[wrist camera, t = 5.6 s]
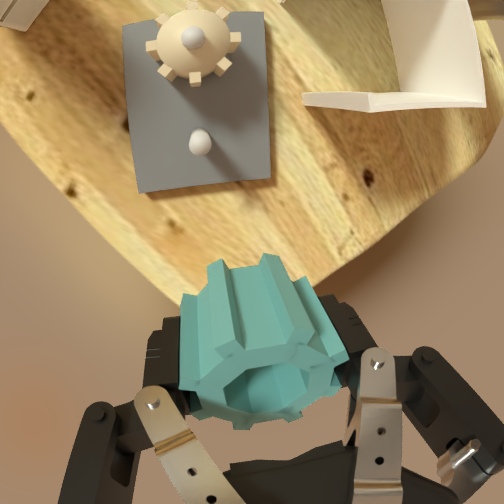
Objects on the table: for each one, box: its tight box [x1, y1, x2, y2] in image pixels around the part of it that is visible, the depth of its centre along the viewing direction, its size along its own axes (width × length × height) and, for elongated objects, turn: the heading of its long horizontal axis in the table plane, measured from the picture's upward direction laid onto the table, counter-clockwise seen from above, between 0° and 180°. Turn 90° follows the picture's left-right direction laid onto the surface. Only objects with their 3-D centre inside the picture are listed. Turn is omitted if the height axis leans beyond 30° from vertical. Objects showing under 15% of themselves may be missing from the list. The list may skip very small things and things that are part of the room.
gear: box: [179, 253, 349, 430], centre depth 12 cm, size 6×6×4 cm
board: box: [122, 0, 271, 194], centre depth 18 cm, size 11×14×7 cm
